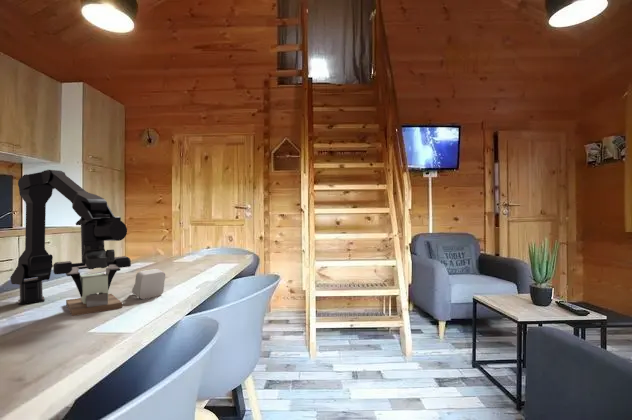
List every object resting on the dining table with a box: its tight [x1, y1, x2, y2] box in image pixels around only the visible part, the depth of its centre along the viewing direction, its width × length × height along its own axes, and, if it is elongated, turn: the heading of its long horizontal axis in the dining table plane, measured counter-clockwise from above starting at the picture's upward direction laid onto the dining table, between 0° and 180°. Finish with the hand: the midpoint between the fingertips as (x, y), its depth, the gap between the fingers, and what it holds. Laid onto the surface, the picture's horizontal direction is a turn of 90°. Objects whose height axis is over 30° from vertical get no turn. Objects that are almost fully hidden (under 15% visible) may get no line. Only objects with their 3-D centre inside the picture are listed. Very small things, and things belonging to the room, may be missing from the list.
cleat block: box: [80, 272, 109, 304], centre depth 107 cm, size 7×6×7 cm
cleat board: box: [65, 293, 123, 317], centre depth 108 cm, size 16×12×4 cm
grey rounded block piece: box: [131, 268, 166, 300], centre depth 121 cm, size 8×10×10 cm
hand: (94, 294), depth 107 cm, fingers closed on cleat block, 6 cm apart
